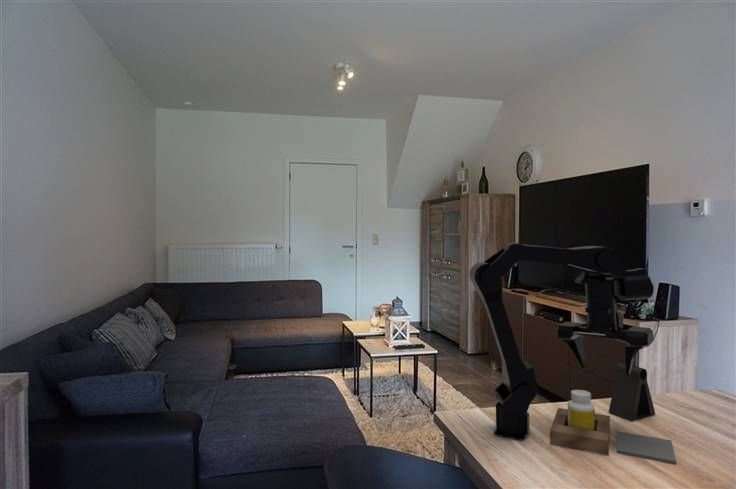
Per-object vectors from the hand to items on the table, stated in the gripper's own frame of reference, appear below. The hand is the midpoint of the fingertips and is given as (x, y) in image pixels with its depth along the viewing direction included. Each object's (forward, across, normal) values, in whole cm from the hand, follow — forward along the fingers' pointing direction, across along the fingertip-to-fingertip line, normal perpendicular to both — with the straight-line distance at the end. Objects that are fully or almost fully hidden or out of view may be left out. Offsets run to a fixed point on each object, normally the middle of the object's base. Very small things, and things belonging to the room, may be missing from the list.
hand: (605, 371), depth 101 cm
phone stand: (+15, -1, -15) cm, 21 cm away
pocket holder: (+14, +4, +6) cm, 15 cm away
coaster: (+14, -8, +3) cm, 16 cm away
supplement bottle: (+14, +4, +6) cm, 16 cm away
